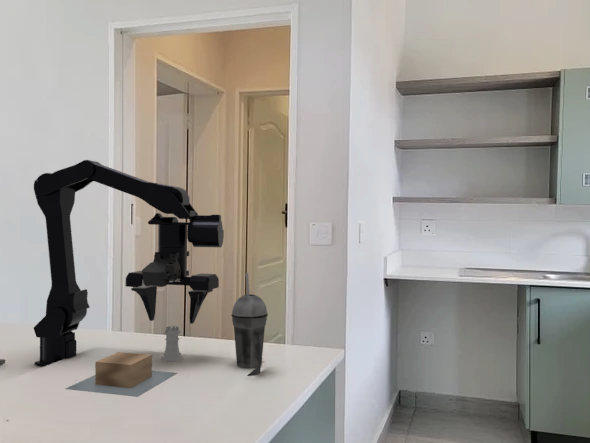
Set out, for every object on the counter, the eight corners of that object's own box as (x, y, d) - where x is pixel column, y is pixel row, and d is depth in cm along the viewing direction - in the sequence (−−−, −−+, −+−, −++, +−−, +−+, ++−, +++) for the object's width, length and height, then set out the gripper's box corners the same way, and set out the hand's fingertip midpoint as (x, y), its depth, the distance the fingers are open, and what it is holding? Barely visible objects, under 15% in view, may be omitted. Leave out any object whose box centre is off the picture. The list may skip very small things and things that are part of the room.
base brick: (95, 384, 96) (95, 361, 96) (118, 373, 102) (118, 352, 102) (130, 388, 94) (130, 364, 94) (151, 376, 101) (151, 354, 101)
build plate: (64, 397, 93) (64, 388, 93) (112, 374, 107) (113, 366, 107) (137, 405, 90) (137, 396, 90) (177, 380, 103) (177, 372, 103)
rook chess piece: (177, 369, 111) (177, 330, 111) (157, 368, 112) (157, 328, 111) (186, 363, 115) (186, 325, 115) (166, 362, 116) (166, 324, 116)
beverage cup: (273, 370, 111) (274, 271, 110) (256, 379, 104) (257, 275, 104) (242, 365, 114) (243, 269, 113) (223, 374, 107) (224, 273, 107)
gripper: (109, 247, 108) (109, 326, 108) (196, 250, 103) (195, 333, 103) (140, 244, 118) (139, 316, 119) (220, 247, 113) (219, 322, 114)
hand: (171, 322), depth 113 cm, fingers open, 9 cm apart
